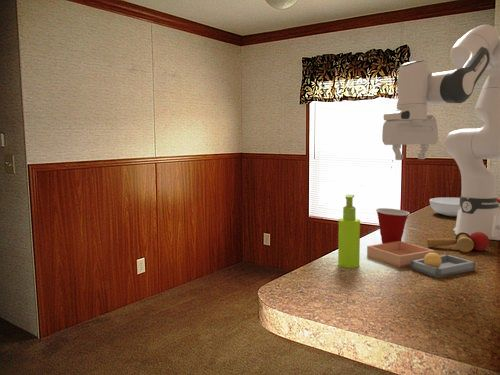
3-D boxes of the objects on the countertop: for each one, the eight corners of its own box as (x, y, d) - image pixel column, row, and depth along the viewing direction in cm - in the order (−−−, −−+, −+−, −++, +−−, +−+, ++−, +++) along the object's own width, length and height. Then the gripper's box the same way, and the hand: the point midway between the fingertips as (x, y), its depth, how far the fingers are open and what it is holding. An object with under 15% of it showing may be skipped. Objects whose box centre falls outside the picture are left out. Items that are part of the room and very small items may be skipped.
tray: (446, 262, 124) (446, 254, 124) (474, 270, 116) (475, 261, 116) (410, 268, 118) (411, 260, 118) (437, 278, 110) (438, 269, 110)
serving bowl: (424, 216, 196) (424, 201, 196) (434, 210, 213) (434, 196, 213) (475, 220, 185) (476, 205, 184) (481, 213, 202) (482, 199, 201)
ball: (430, 248, 117) (419, 254, 116) (444, 252, 114) (432, 258, 112) (432, 263, 118) (421, 269, 117) (446, 267, 114) (434, 273, 113)
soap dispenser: (360, 262, 125) (361, 194, 123) (358, 268, 119) (359, 197, 117) (340, 260, 127) (340, 193, 125) (337, 267, 121) (337, 196, 119)
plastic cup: (411, 249, 138) (412, 213, 137) (376, 248, 140) (377, 212, 139) (406, 241, 149) (407, 207, 148) (374, 240, 151) (374, 207, 150)
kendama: (429, 254, 137) (493, 251, 131) (427, 235, 138) (489, 230, 132) (428, 253, 144) (488, 249, 138) (425, 234, 145) (485, 229, 139)
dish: (399, 250, 137) (400, 241, 137) (434, 261, 125) (434, 250, 125) (367, 256, 131) (367, 246, 131) (399, 267, 119) (400, 256, 119)
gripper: (427, 115, 140) (426, 158, 141) (379, 114, 131) (378, 160, 132) (444, 114, 134) (442, 158, 135) (394, 113, 125) (393, 160, 127)
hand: (410, 159), depth 134 cm, fingers open, 8 cm apart
